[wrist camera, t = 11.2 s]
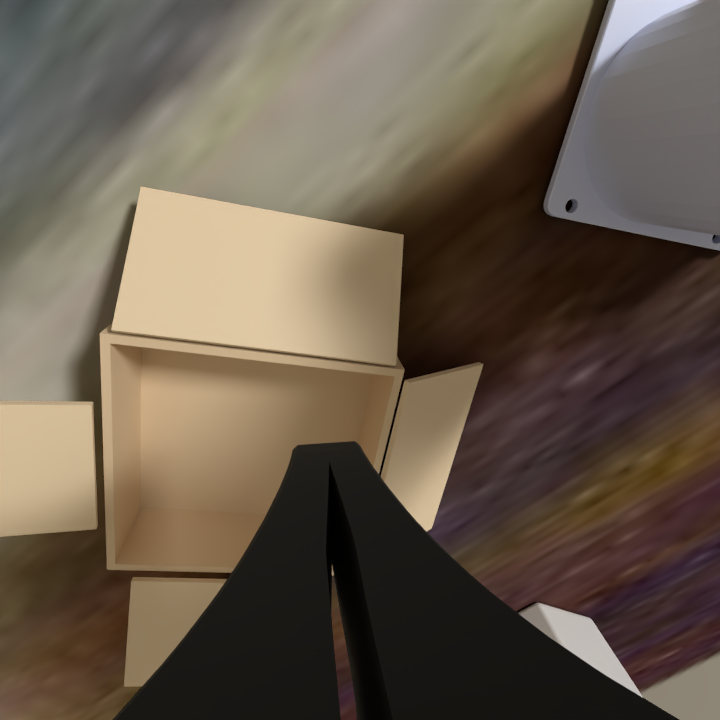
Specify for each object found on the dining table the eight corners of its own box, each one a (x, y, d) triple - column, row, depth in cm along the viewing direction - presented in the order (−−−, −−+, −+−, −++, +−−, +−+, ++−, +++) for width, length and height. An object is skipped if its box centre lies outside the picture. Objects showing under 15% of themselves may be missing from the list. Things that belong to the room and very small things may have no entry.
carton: (386, 336, 19) (404, 370, 16) (345, 518, 23) (354, 575, 20) (135, 302, 17) (99, 333, 14) (135, 508, 21) (106, 569, 18)
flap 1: (91, 405, 14) (-111, 403, 13) (96, 529, 16) (-79, 542, 15) (92, 401, 15) (-106, 399, 13) (97, 524, 16) (-75, 537, 15)
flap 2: (331, 584, 19) (315, 682, 20) (330, 581, 19) (315, 677, 20) (131, 581, 17) (123, 686, 18) (133, 576, 18) (125, 681, 19)
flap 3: (394, 365, 16) (401, 237, 17) (396, 364, 16) (403, 234, 17) (113, 331, 14) (142, 190, 15) (111, 329, 14) (141, 186, 15)
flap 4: (404, 379, 16) (478, 362, 19) (357, 568, 19) (428, 525, 23) (409, 382, 16) (483, 364, 19) (361, 572, 19) (431, 528, 23)
